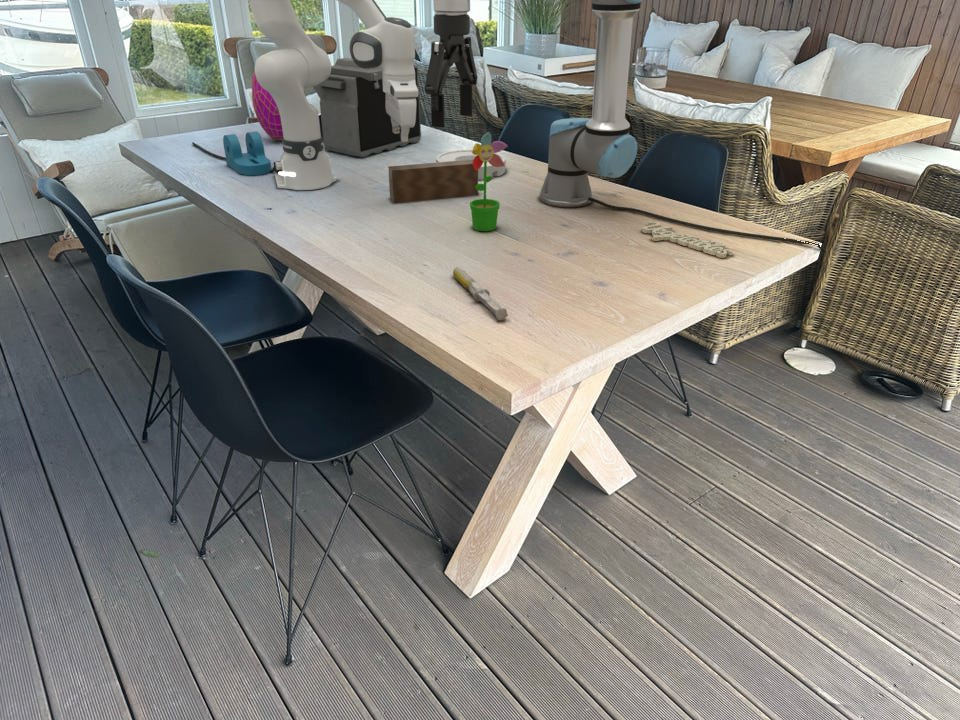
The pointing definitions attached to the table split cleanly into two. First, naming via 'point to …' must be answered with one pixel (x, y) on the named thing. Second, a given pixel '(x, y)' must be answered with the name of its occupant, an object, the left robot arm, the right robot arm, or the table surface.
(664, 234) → the decorative sign
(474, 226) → the potted flower
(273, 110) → the decorative egg
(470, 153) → the ashtray
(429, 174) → the bar
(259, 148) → the camera mount
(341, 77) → the electronic device
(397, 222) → the table surface
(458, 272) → the syringe
